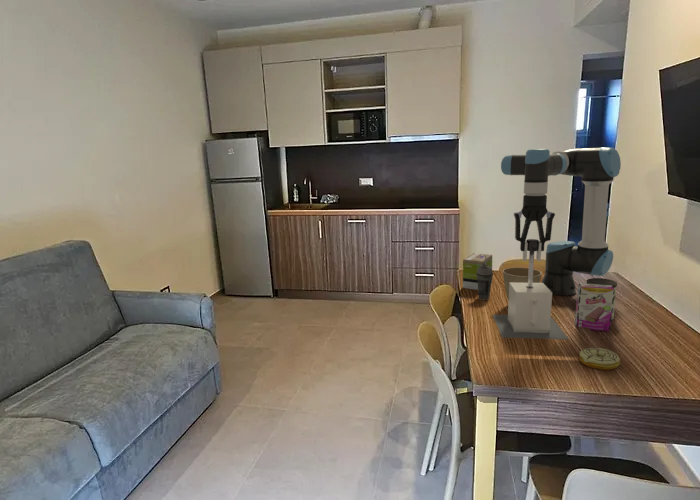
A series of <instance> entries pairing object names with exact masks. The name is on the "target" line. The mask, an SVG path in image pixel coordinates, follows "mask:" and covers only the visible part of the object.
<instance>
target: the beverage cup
mask: <svg viewBox="0 0 700 500" xmlns="http://www.w3.org/2000/svg"><path fill="white" fill-rule="evenodd" d="M476 274H477V280H478V290H477V295H478V299H479V300H480V301H481V300H483V301H488V300H490V296H491V287H492V283H491V281H492V282H493V276H494V271H493V267H492V268H491V267H490V266H488V265H486V256H485V265H481V266H480V267H479V268H478V269H477V273H476Z"/></svg>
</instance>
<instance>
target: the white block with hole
mask: <svg viewBox="0 0 700 500" xmlns="http://www.w3.org/2000/svg"><path fill="white" fill-rule="evenodd" d="M552 301H553V294H552V292H551V291H550V290H549V289H548V288H547V287H546V286H545V285H544V283H541V282H540V283H533V284H532V288H528V283H517V282H509V301H508V306H507V307H508V308H507V315H508V321H509V323H510V325H511V327H512V329H513V331H514V332H531V333H550V319H551V317H552Z"/></svg>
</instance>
